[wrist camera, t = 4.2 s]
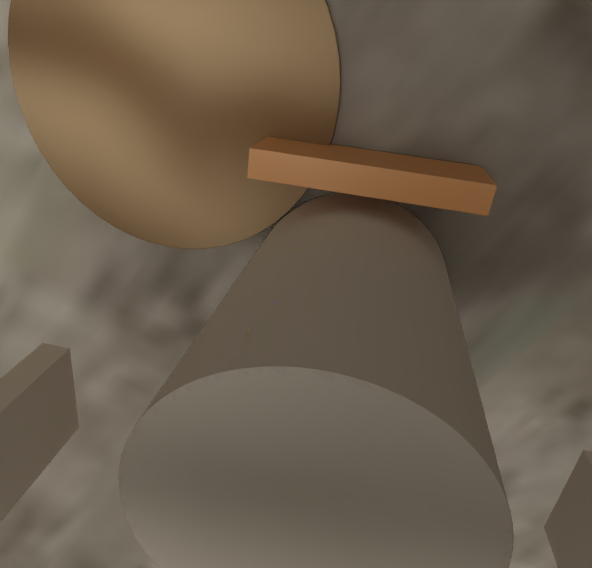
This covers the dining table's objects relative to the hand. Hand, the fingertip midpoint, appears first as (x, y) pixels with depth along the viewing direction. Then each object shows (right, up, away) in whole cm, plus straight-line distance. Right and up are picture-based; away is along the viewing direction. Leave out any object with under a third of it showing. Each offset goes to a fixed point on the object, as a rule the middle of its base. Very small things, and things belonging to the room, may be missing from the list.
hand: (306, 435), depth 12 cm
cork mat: (-5, +12, +6) cm, 14 cm away
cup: (+2, +4, +8) cm, 9 cm away
